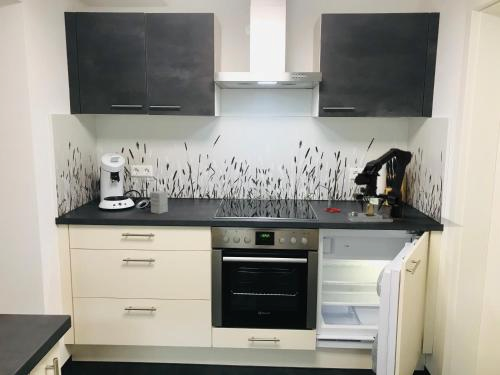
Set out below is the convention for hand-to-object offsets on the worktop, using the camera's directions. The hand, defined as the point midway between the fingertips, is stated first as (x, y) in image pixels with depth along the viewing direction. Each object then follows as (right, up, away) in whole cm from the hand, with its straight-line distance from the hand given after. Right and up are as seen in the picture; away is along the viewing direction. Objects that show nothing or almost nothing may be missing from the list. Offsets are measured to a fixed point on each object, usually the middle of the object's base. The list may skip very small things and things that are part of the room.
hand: (370, 211), depth 231 cm
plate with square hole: (0, -5, +1) cm, 5 cm away
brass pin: (0, -5, +1) cm, 5 cm away
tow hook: (-16, -1, +25) cm, 30 cm away
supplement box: (-124, -2, +16) cm, 125 cm away
